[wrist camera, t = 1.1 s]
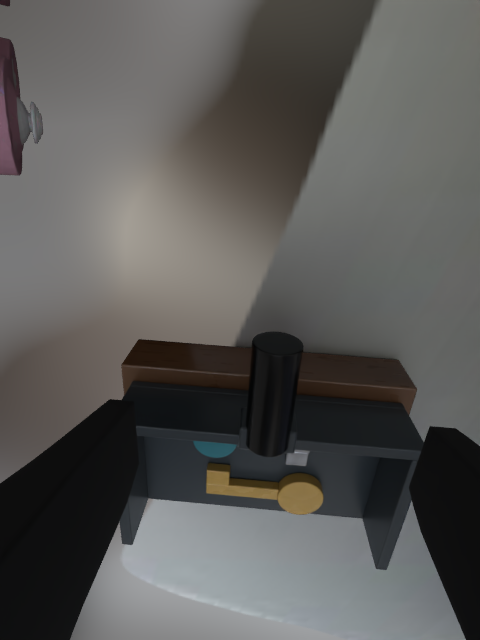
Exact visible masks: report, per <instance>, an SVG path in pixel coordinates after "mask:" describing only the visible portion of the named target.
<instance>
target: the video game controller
mask: <svg viewBox="0 0 480 640" xmlns="http://www.w3.org/2000/svg"><path fill="white" fill-rule="evenodd" d="M0 4H1V5H5V6H10V0H0ZM30 132H33V137H34V140H35V143H38V142H39V140H40V138H41V135H42V134H43V126H42V117H41V114H40V113H39V111H38V108H37V107H36V106H35V104H34V103H33V102H31V114H29V113H28V112H27V110H26V108H25V106H24V104H23V102H22V101H21V100H20V88H19V78H18V70H17V62H16V57H15V51H14V47H13V44H12V42H11V40H9V39H5V38H1V37H0V175H20V174H21V171H22V150H23V145H24V143H25V142H26V140H27V138H28V136H29V134H30Z"/></svg>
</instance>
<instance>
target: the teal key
mask: <svg viewBox="0 0 480 640" xmlns="http://www.w3.org/2000/svg"><path fill="white" fill-rule="evenodd" d="M193 443H194V446H195V447H196V449H197V450H198V451H199V452H200V453H202V454H203V455H205V456H208V457H212V458H221V457H225V456H227V455H229V454H231V453H232V452H233V451H234V450H235V448H236V446H237V447H238V445H236V444H224V443H213V442H202V441H193ZM309 453H310V451H303V450H295V451H294V453H292V454H290V453H285V464H286V465H297V466H307V461H308V455H309Z"/></svg>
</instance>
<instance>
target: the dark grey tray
mask: <svg viewBox="0 0 480 640" xmlns="http://www.w3.org/2000/svg"><path fill="white" fill-rule="evenodd" d="M302 354H303V344H302V342H301V341H300V340H299V339H298V338H296V337H295V336H293V335H290V334H287V333H282V332H264V333H261V334H258V335H256V336H255V337H254V339H253V340H252V350H251V363H250V376H249V388H248V390H236V389H225V388H213V387H201V386H189V385H177V384H165V383H153V382H141V381H132V383H131V385H130V387H129V388H128V390H127V392H126V394H125V395H124V397H123V399H122V400H124V401H134V406H135V418H136V431H137V444H138V456H139V465H138V469H137V472H136V476H135V479H134V482H133V486H132V489H131V492H130V495H129V498H128V502H127V504H126V507H125V509H124V512H123V514H122V516H121V519H120V528H121V537H122V544H128V545H132V544H133V542H134V539H135V536H136V533H137V530H138V527H139V524H140V521H141V518H142V515H143V512H144V509H145V506H146V503H147V500H148V498H151V499H161V500H172V501H183V502H193V503H204V504H215V505H225V506H236V507H246V508H257V509H268V510H278V511H285V510H284V509H283V508H282V507H281V506H280V505H279V503H278V500H273V499H262V498H251V497H241V496H230V495H219V494H208V493H206V476H207V466H208V463H215V464H226V465H230V478H238V479H248V480H259V481H270V482H278V483H279V482H280V481H281V479H283V478H284V477H285V476H287V475H290V474H293V473H306V474H309V475H312V476H314V477H315V478H316V479H317V480H318V481H319V482H320V483H321V485H322V490H323V496H324V499H323V503H322V505H321V506H320V508H319V509H317V510H316V511H314V512H312V513H310V514H321V515H331V516H342V517H353V518H363V522H364V526H365V529H366V533H367V537H368V541H369V544H370V548H371V552H372V556H373V559H374V563H375V567H376V569H381V570H387V567H388V565H389V562H390V559H391V556H392V553H393V551H394V548H395V545H396V542H397V539H398V537H399V534H400V531H401V528H402V525H403V523H404V520H405V517H406V514H407V511H408V509H409V506H410V503H411V500H412V498H411V495H410V491H409V485H410V482H411V479H412V476H413V473H414V471H415V468H416V465H417V462H418V459H419V456H420V453H421V450H422V447H423V445H424V442H423V440H422V438H421V437H420V435H419V433H418V431H417V429H416V428H415V426H414V424H413V422H412V420H411V418H410V417H409V415H408V413H407V411H406V410H405V407H404V405H403V404H402V403H392V402H380V401H368V400H356V399H344V398H332V397H320V396H308V395H297V388H298V381H299V374H300V367H301V361H302ZM193 441H202V442H213V443H224V444H236V445H238V447H237V446H236V448H235V450H234V451H233V452H232V453H231V454H229V455H227V456H225V457H221V458H212V457H208V456H205V455H203V454H202V453H200V452H199V451H198V450H197V449H196V447H195V446H194V443H193ZM295 450H303V451H310V453H309V455H308V461H307V466H297V465H286V464H285V453H290V454H292V453H294V451H295Z"/></svg>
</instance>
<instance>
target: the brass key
mask: <svg viewBox="0 0 480 640" xmlns="http://www.w3.org/2000/svg"><path fill="white" fill-rule="evenodd" d="M206 493H208V494H219V495H230V496H241V497H251V498H262V499H273V500H278V503H279V505H280V506H281V507H282V508H283V509H284V510H285V511H287V512H289V513H292V514H299V515H303V514H309V513H312V512H314V511H316V510H317V509H319V508H320V506H321V505H322V503H323V499H324V496H323V490H322V485H321V483H320V482H319V481H318V480H317V479H316V478H315V477H314V476H312V475H309V474H306V473H293V474H290V475H287V476H285V477H284V478H283V479H281V481H280V482H279V483H278V482H270V481H259V480H248V479H238V478H230V465H226V464H215V463H208V466H207V476H206Z"/></svg>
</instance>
